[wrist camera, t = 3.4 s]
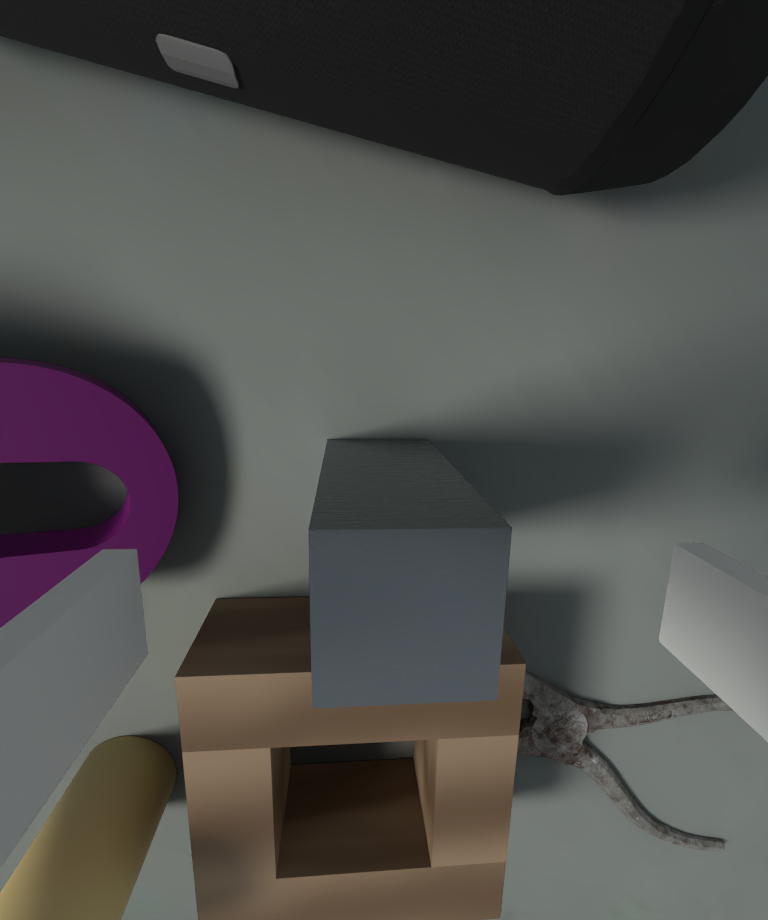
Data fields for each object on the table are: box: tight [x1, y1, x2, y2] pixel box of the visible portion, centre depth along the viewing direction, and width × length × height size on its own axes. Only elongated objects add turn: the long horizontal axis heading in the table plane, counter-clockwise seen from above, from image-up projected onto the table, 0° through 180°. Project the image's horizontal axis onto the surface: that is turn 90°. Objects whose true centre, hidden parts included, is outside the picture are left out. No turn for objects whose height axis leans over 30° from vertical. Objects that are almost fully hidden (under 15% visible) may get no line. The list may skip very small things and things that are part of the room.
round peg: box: [0, 736, 176, 920], centre depth 17 cm, size 4×4×10 cm
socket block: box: [175, 597, 526, 920], centre depth 20 cm, size 12×12×5 cm
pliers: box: [517, 671, 733, 851], centre depth 24 cm, size 10×1×20 cm
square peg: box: [309, 439, 512, 708], centre depth 15 cm, size 4×4×10 cm
